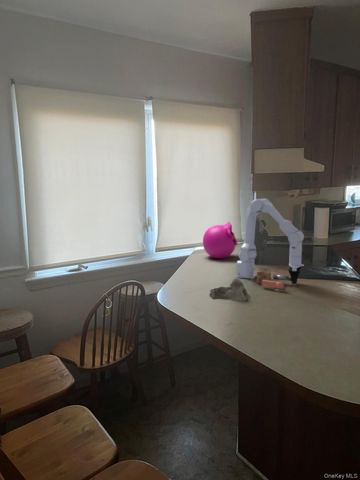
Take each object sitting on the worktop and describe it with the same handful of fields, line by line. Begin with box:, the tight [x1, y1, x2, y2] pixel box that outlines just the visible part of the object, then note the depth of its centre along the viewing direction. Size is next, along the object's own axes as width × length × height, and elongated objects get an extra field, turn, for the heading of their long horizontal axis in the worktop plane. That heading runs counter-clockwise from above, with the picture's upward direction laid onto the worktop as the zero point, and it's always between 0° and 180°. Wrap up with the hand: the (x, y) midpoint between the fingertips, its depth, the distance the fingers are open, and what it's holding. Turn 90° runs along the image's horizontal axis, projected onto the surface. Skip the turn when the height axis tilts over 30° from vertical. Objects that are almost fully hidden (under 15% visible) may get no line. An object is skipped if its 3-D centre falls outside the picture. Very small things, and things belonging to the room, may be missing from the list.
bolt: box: [272, 274, 298, 286], centre depth 177 cm, size 11×4×6 cm, turn 69°
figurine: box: [202, 221, 238, 259], centre depth 243 cm, size 23×24×25 cm
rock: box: [209, 277, 250, 302], centre depth 158 cm, size 18×11×10 cm, turn 75°
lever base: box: [273, 288, 286, 293], centre depth 167 cm, size 5×5×1 cm
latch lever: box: [261, 280, 285, 290], centre depth 169 cm, size 4×10×3 cm, turn 56°
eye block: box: [256, 267, 272, 285], centre depth 181 cm, size 6×8×6 cm
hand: (294, 281), depth 176 cm, fingers open, 7 cm apart
